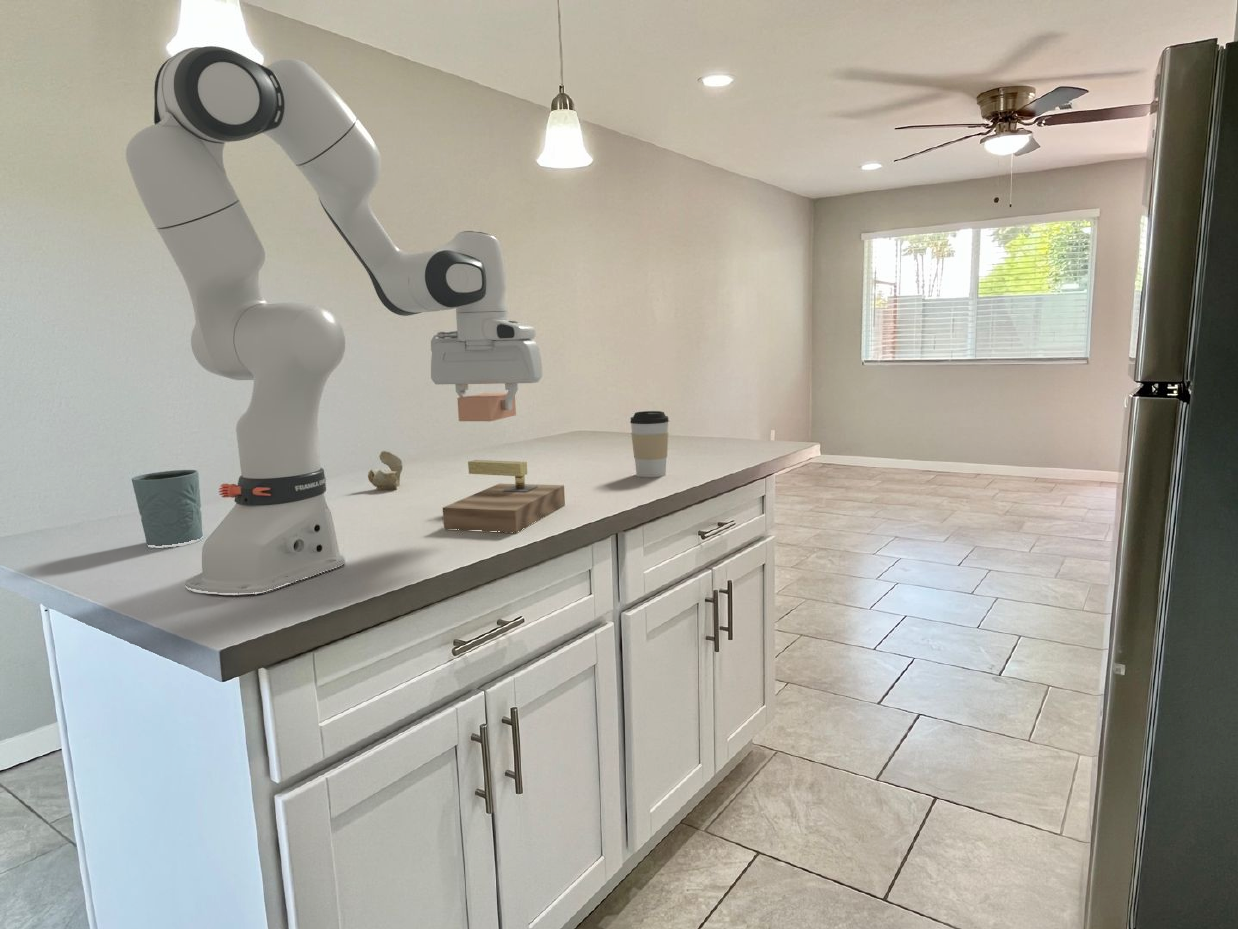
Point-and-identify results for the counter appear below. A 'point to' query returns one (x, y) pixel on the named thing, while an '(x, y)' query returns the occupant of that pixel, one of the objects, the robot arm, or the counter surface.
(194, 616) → the counter surface
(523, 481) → the yellow lever handle
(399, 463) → the tan squirrel figurine
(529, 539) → the counter surface
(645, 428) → the coffee cup
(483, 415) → the salmon orange block
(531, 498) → the base
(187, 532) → the green embossed plant pot
